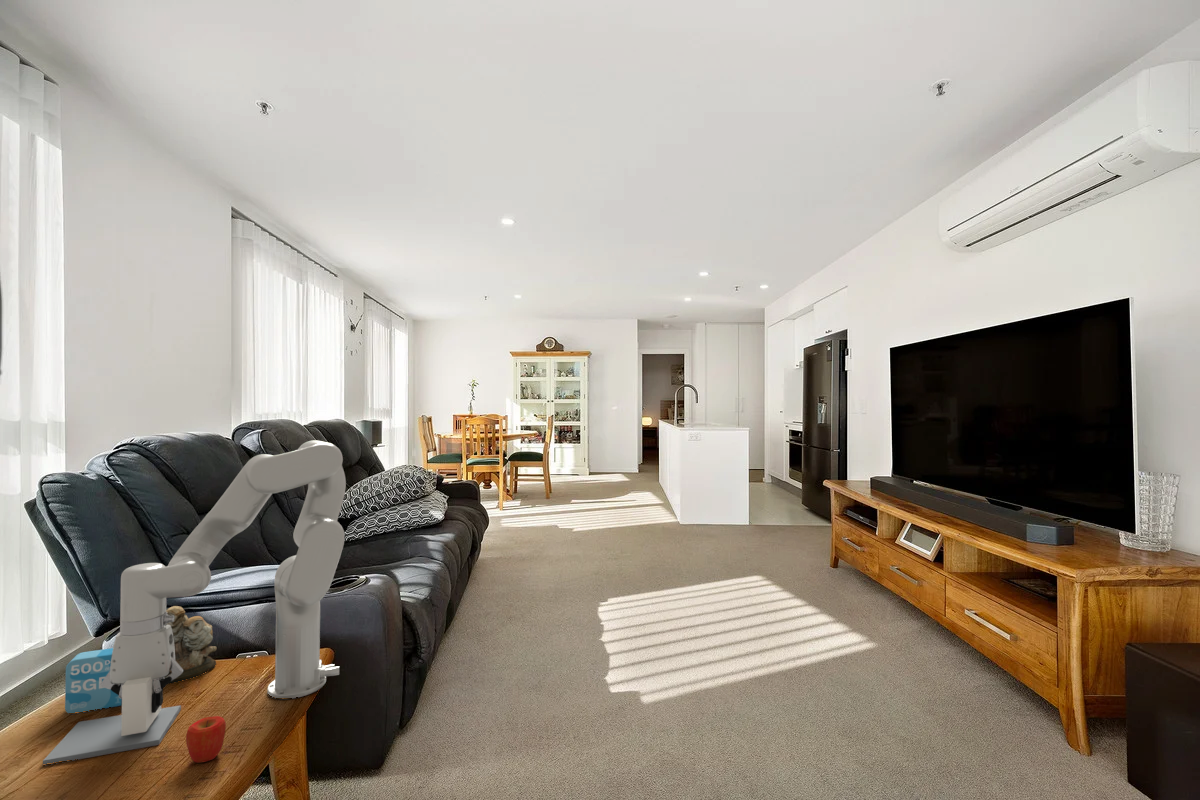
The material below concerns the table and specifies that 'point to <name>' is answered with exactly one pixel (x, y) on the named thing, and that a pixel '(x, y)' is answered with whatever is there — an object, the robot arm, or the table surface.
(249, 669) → the table surface
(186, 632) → the owl figurine
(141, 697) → the slab
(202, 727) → the apple
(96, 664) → the data package
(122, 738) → the board
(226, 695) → the table surface
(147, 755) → the table surface
